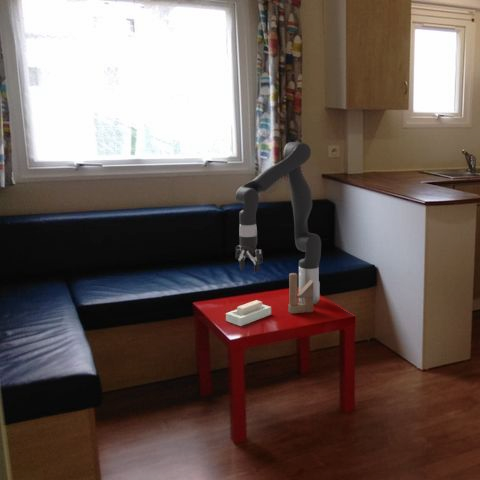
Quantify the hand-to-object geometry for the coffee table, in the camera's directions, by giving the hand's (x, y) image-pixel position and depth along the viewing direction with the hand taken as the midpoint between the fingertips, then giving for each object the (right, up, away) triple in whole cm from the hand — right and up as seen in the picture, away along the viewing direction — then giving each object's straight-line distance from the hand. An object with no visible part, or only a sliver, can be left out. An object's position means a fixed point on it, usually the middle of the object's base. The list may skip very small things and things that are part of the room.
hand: (249, 270), depth 230 cm
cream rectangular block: (0, -20, +4) cm, 20 cm away
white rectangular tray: (0, -21, +4) cm, 21 cm away
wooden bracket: (+23, -19, +9) cm, 32 cm away
